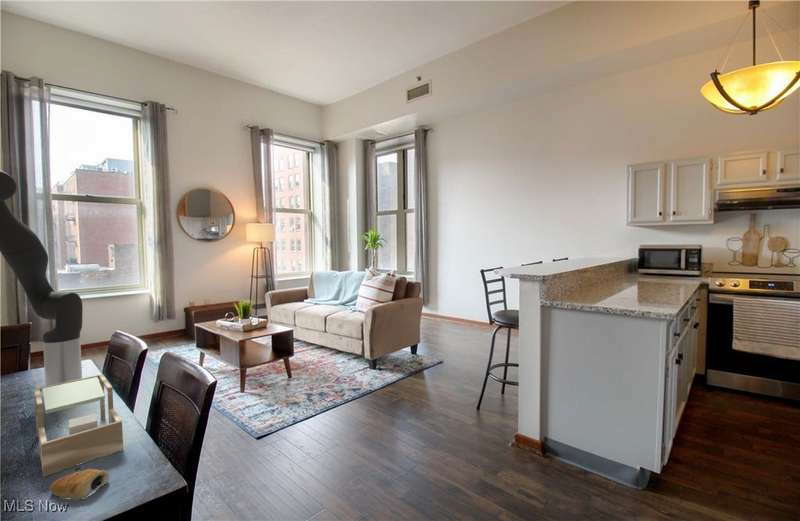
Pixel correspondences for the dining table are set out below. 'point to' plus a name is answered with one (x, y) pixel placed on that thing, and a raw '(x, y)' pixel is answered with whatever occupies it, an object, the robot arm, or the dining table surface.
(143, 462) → the dining table surface
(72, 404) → the trapdoor
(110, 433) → the trapdoor frame
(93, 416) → the white rectangular block
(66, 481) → the pastry
